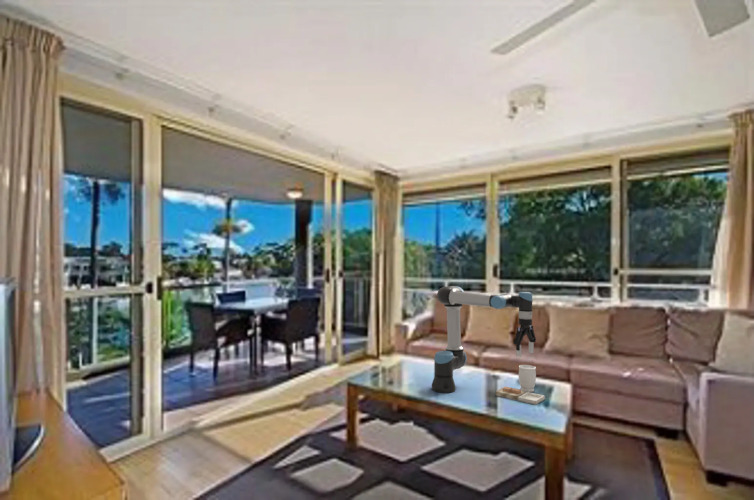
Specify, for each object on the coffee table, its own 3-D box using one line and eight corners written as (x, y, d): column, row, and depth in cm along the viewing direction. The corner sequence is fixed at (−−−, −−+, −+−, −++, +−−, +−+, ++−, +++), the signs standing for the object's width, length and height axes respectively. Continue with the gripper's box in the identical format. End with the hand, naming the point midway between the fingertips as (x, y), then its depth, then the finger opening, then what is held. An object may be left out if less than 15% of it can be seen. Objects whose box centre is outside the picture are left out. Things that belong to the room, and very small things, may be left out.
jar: (514, 388, 283) (515, 365, 283) (527, 387, 287) (527, 364, 287) (526, 393, 273) (526, 369, 273) (539, 391, 277) (539, 367, 277)
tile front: (510, 392, 266) (510, 389, 266) (513, 391, 269) (513, 388, 269) (518, 394, 263) (518, 391, 263) (521, 392, 266) (521, 389, 266)
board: (495, 395, 268) (495, 391, 268) (504, 391, 277) (504, 387, 277) (517, 400, 259) (517, 396, 259) (525, 395, 268) (525, 391, 268)
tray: (518, 401, 258) (518, 397, 258) (527, 395, 268) (527, 392, 269) (535, 404, 251) (535, 401, 251) (544, 399, 262) (544, 395, 262)
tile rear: (502, 390, 269) (502, 387, 269) (505, 389, 273) (505, 386, 273) (509, 392, 266) (509, 389, 266) (512, 390, 270) (512, 387, 270)
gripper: (519, 320, 249) (519, 358, 249) (542, 317, 266) (541, 352, 265) (507, 319, 255) (507, 356, 254) (530, 316, 271) (530, 350, 271)
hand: (524, 354), depth 260 cm, fingers open, 13 cm apart
